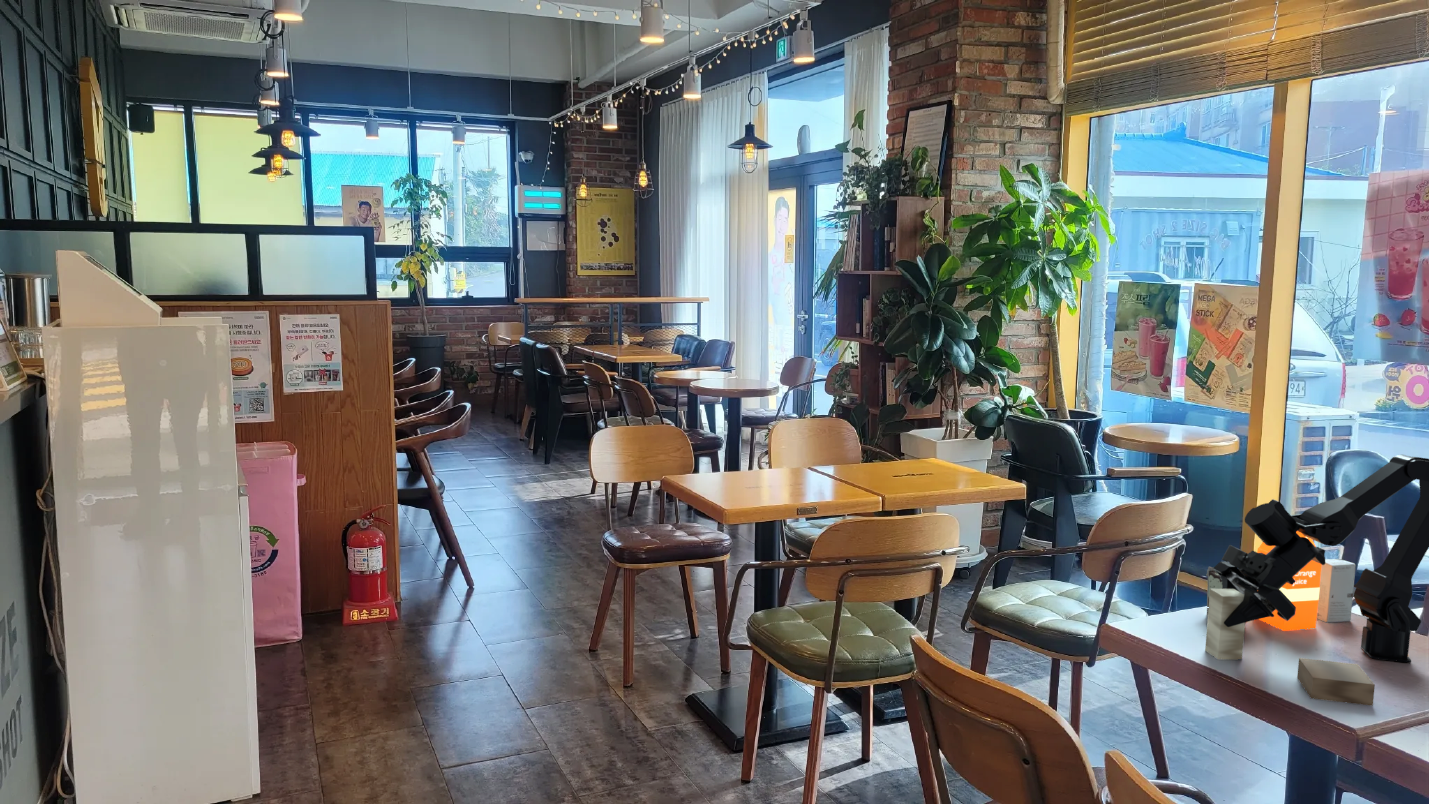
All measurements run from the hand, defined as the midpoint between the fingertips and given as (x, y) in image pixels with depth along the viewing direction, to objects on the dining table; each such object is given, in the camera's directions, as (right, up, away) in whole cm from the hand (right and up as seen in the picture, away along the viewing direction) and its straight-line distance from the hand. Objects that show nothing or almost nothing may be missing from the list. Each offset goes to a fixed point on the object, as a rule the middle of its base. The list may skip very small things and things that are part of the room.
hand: (1218, 620), depth 185 cm
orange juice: (+23, -5, +19) cm, 30 cm away
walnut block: (+12, -9, -15) cm, 21 cm away
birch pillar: (+1, -7, +1) cm, 7 cm away
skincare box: (+34, -5, +22) cm, 41 cm away
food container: (+12, -5, +18) cm, 23 cm away
